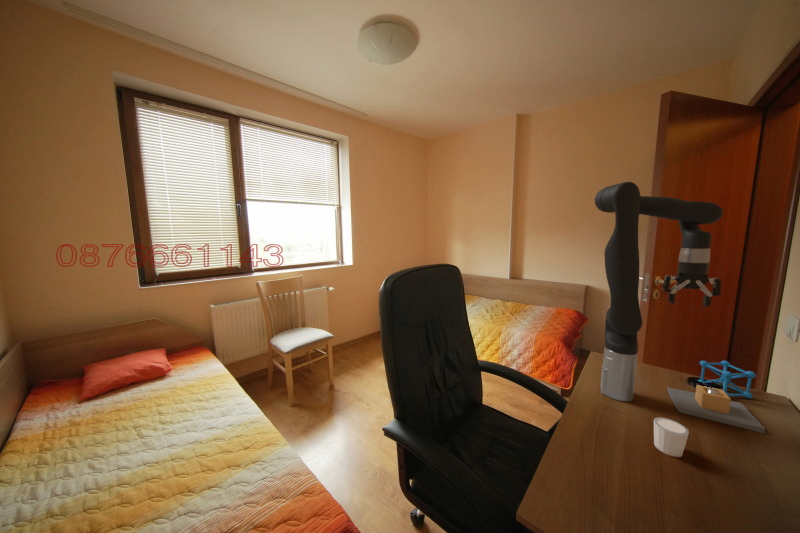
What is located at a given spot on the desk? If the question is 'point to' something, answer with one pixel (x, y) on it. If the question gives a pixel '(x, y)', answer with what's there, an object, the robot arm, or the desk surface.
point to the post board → (736, 415)
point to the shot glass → (670, 436)
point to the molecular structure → (728, 377)
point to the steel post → (712, 391)
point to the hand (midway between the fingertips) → (688, 304)
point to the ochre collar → (712, 399)
